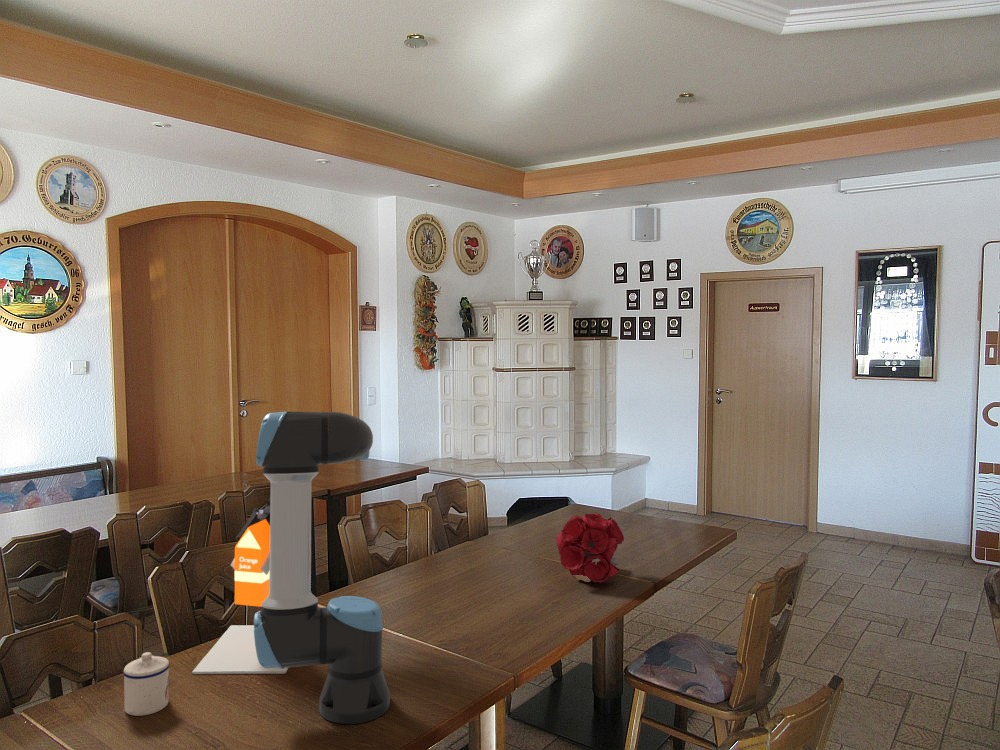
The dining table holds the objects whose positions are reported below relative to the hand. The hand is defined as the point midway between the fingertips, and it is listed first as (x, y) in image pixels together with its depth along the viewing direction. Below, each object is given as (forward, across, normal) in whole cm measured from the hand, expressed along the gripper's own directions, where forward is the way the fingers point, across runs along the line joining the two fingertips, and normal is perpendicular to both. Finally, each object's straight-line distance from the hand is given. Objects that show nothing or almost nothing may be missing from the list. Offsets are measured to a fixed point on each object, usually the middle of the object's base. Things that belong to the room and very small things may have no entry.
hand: (248, 570), depth 181 cm
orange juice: (+4, 0, -9) cm, 10 cm away
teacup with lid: (+36, +5, +5) cm, 36 cm away
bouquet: (-48, -72, -79) cm, 117 cm away
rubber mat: (+13, 0, -18) cm, 22 cm away
